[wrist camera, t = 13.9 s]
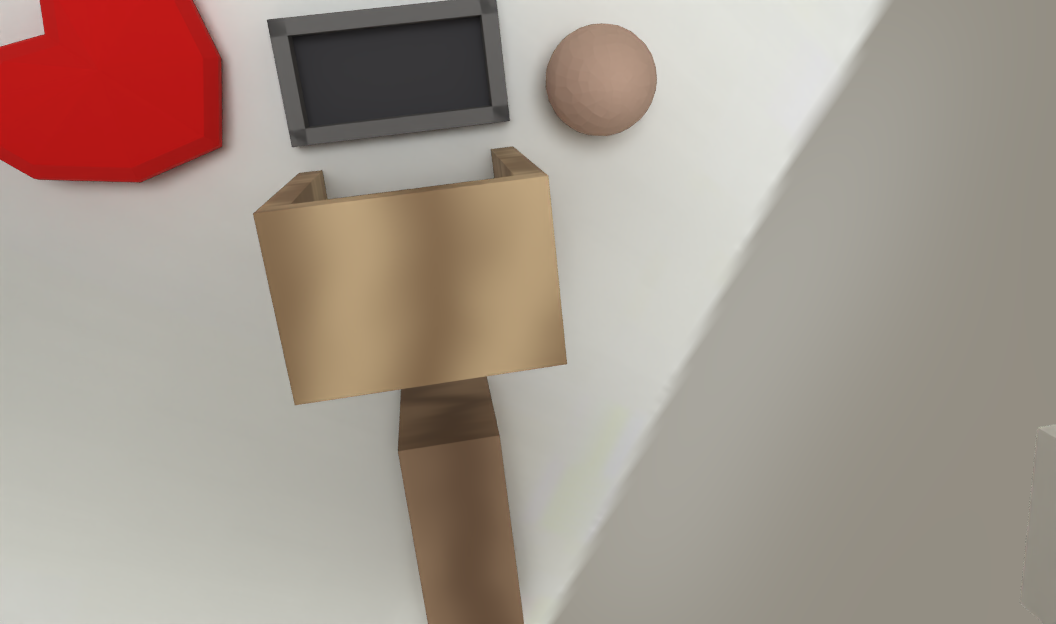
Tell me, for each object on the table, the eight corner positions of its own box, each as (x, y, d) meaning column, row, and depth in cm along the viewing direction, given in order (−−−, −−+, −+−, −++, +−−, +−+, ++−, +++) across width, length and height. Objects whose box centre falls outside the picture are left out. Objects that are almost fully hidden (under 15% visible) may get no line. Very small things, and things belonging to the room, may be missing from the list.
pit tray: (297, 143, 41) (291, 147, 39) (273, 21, 39) (266, 19, 38) (506, 118, 42) (509, 120, 40) (492, -2, 40) (495, -5, 39)
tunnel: (327, 316, 44) (294, 405, 32) (298, 173, 42) (253, 213, 30) (528, 288, 45) (566, 364, 33) (512, 146, 43) (548, 175, 31)
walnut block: (437, 602, 51) (440, 696, 43) (401, 388, 46) (397, 451, 38) (514, 588, 51) (531, 679, 43) (486, 375, 46) (499, 435, 39)
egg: (653, 66, 42) (700, 66, 35) (596, 150, 43) (631, 165, 36) (574, 5, 41) (607, -8, 34) (517, 93, 42) (537, 98, 35)
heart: (286, 50, 41) (99, -83, 38) (288, 42, 37) (79, -108, 34) (162, 241, 41) (-38, 127, 38) (151, 252, 37) (-73, 127, 34)
